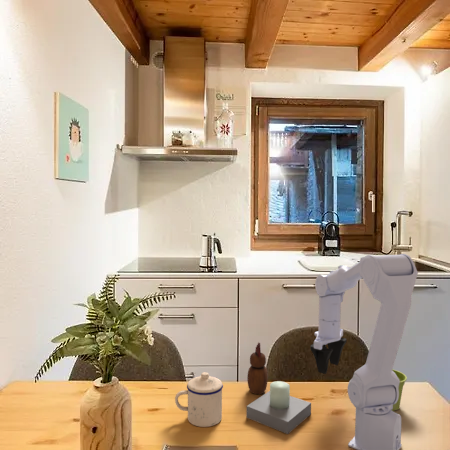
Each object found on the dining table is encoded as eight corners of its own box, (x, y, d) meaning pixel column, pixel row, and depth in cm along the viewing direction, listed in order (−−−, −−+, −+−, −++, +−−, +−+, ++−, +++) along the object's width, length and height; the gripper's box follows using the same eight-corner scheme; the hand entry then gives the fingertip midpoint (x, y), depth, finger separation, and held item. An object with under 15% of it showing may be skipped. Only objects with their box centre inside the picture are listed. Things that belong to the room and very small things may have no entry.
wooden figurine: (266, 397, 116) (266, 345, 115) (245, 395, 117) (246, 343, 116) (268, 387, 123) (269, 337, 122) (249, 385, 124) (249, 336, 123)
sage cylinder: (292, 403, 107) (293, 384, 106) (283, 411, 102) (284, 391, 102) (275, 398, 109) (275, 379, 109) (266, 405, 105) (266, 386, 105)
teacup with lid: (221, 408, 109) (221, 365, 109) (224, 427, 100) (224, 380, 100) (175, 410, 108) (175, 367, 108) (174, 429, 99) (174, 382, 99)
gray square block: (310, 414, 107) (311, 402, 107) (287, 434, 98) (288, 421, 98) (271, 400, 115) (271, 389, 114) (246, 417, 105) (246, 406, 105)
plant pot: (369, 411, 109) (370, 379, 108) (368, 395, 118) (368, 366, 117) (407, 417, 106) (408, 384, 105) (403, 400, 115) (404, 370, 114)
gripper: (327, 310, 120) (326, 356, 120) (303, 322, 108) (302, 372, 109) (350, 315, 115) (349, 362, 116) (328, 327, 104) (327, 380, 105)
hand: (328, 368), depth 112 cm, fingers open, 7 cm apart
